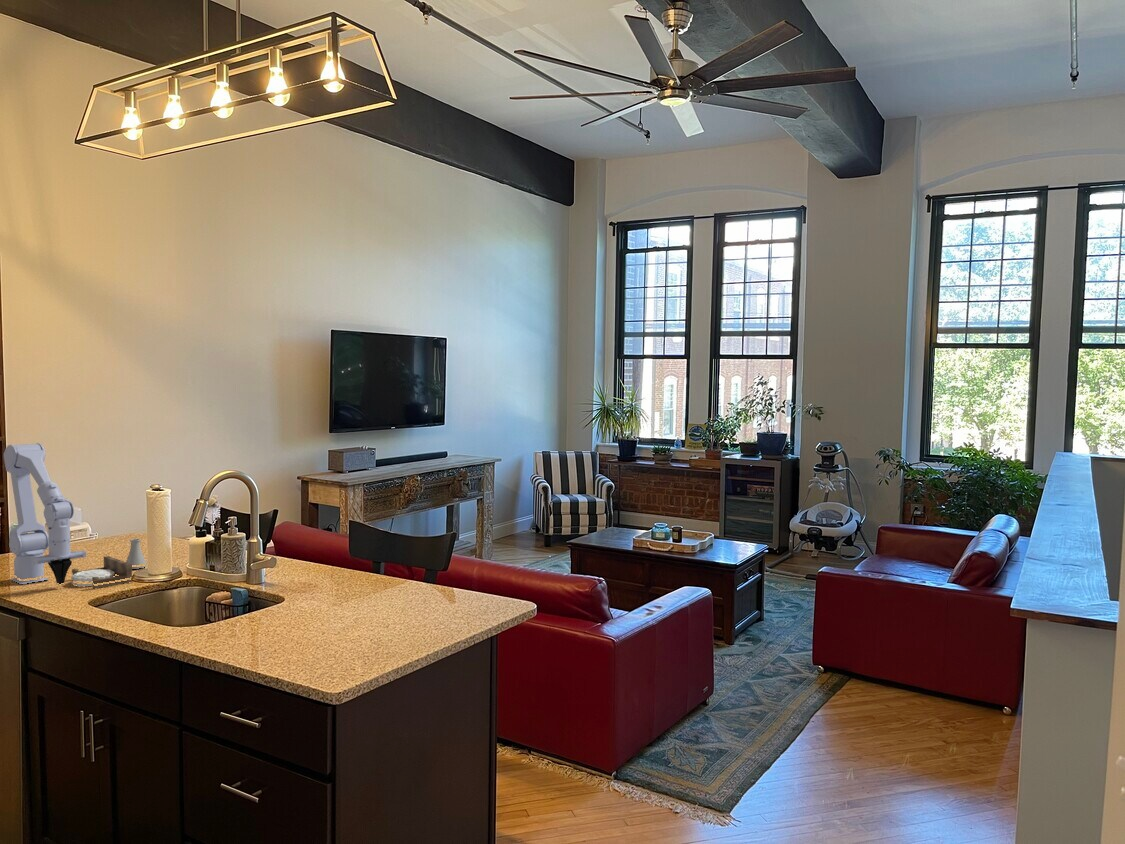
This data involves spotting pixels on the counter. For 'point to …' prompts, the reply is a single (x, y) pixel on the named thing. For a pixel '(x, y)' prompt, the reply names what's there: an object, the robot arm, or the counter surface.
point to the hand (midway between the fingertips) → (60, 583)
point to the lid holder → (115, 565)
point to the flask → (136, 554)
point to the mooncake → (89, 574)
